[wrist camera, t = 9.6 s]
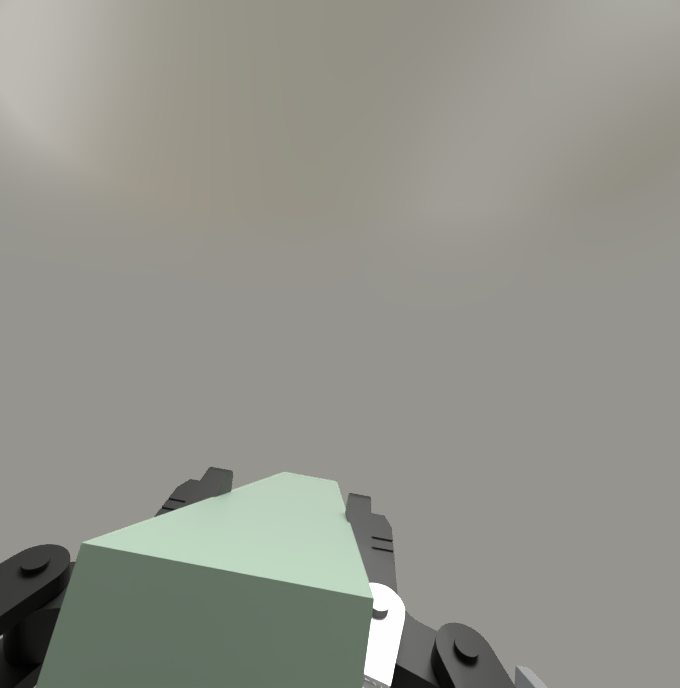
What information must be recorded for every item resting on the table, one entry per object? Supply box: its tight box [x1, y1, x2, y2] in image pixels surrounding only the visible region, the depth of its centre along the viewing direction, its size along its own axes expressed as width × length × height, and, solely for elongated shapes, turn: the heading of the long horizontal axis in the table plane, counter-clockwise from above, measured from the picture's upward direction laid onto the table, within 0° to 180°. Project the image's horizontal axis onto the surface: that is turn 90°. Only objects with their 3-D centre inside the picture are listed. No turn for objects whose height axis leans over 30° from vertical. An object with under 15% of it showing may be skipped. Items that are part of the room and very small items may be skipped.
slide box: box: [36, 472, 374, 688], centre depth 18 cm, size 4×26×3 cm, turn 2°
